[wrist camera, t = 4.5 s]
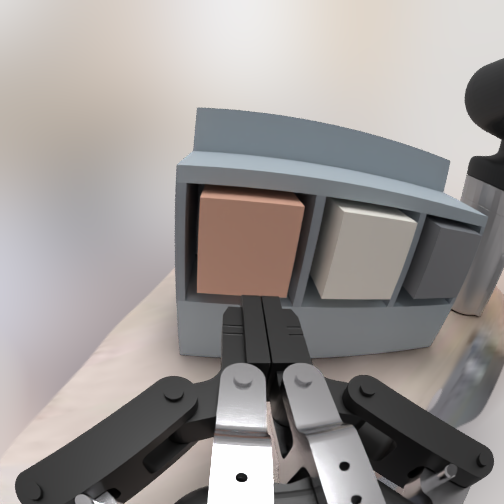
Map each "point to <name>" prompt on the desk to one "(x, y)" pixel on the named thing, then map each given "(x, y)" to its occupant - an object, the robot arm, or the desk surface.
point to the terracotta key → (247, 240)
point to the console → (312, 224)
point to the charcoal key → (441, 258)
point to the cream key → (360, 249)
